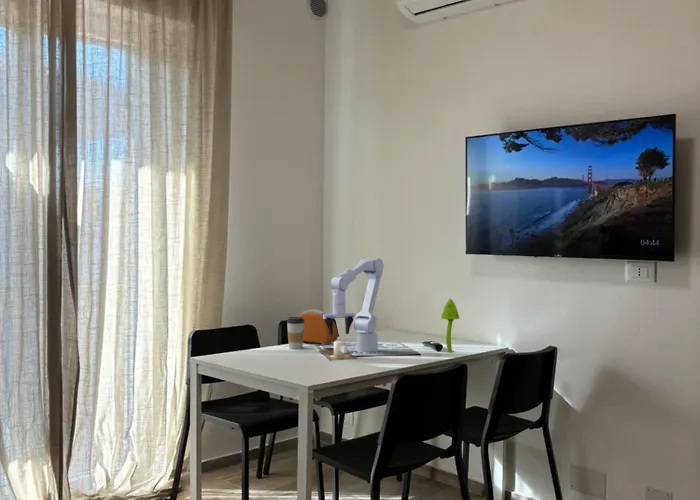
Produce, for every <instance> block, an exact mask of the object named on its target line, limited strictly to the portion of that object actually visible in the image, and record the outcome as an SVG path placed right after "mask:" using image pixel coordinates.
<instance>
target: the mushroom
mask: <svg viewBox="0 0 700 500" xmlns="http://www.w3.org/2000/svg"><path fill="white" fill-rule="evenodd" d="M440 317H441V319H443V320H447V321H448V322H447V328H446V335H445V341H446V349H447V352H448V353H453V348H452V328H453V321H454V320H460V315H459V311H458V308H457V306H456V304H455V301H453V300H452V298H449V299H448V300H447V301H446V304H445V306H444V308H443V310H442V314H441V316H440Z"/></svg>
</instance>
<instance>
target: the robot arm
mask: <svg viewBox="0 0 700 500" xmlns="http://www.w3.org/2000/svg"><path fill="white" fill-rule="evenodd" d="M384 268H385V265H384V262H383V260H382V258H380V257H378V258H377V257H363V258H361V259H359V262H358V263H357V264H356V265H355V266H354V267H353V268H346V269H345V271H343V272H342V273H340V274H338V276H334V277H332V278H331V280H330V281H329V288H330V290H331V294H332V312H331V313H325V314H323V319H325V322H326V324H327V326H328V329H329V334H330V335H333V321H334V319H344V324H345V328H344V329H345V334H346V335H349V333H350V329H351V326H352V327H353V329H354V331H355V333H356V348H355V349H354V351H356V352H357V353H368V352H373V353H374V352H379V351H378V348H379V347H378V346H379V345H378V343H379V342H378V341H379V339H378V338H379V337H378V334H377V332H376V328H377V316H376V315H375V314H374V309H375V305H376V302H377V301H376V300H377V296H378V295H377V294H378V291H379V288H380V282H381V279H382V275H383V272H384ZM361 273H363V274H364V275H365V276H366V277H367V278H368V282H367V286H366V291H365V295H364V299H363V304H362V307H361V310H360V311H359V312H358V313H355V312H346V290H347V289H348V288H349V285H350V284H351V283H353V282H354V281H355V280H356V279H357V276H358V275H359V274H361ZM331 318H332V319H333V320H332V319H331Z"/></svg>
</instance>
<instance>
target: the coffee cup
mask: <svg viewBox="0 0 700 500" xmlns="http://www.w3.org/2000/svg"><path fill="white" fill-rule="evenodd" d="M286 325H287V340H288V348H289V349H290V350H301V349H303V346H304V345H303V343H304V341H303V334H304V319H303V317H298V316H289V317H287V320H286Z"/></svg>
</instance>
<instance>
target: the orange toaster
mask: <svg viewBox="0 0 700 500" xmlns="http://www.w3.org/2000/svg"><path fill="white" fill-rule="evenodd" d="M323 314H326V312H324V311H323V310H319V309H308V310H304V311H302V313H300V315H297V317H303V319H304V334H303V342H308V343H309V342H311V343H317V344H318V343H319V344H320V343H321V346H328V345H330V344H332V343H334V341H338V336H339V331H338V326H337V325H336V322H335V321H334V318H331V319H332V320H333V335H330V334H329V329H328V326H327V324H326V322H325V319H323Z"/></svg>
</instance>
